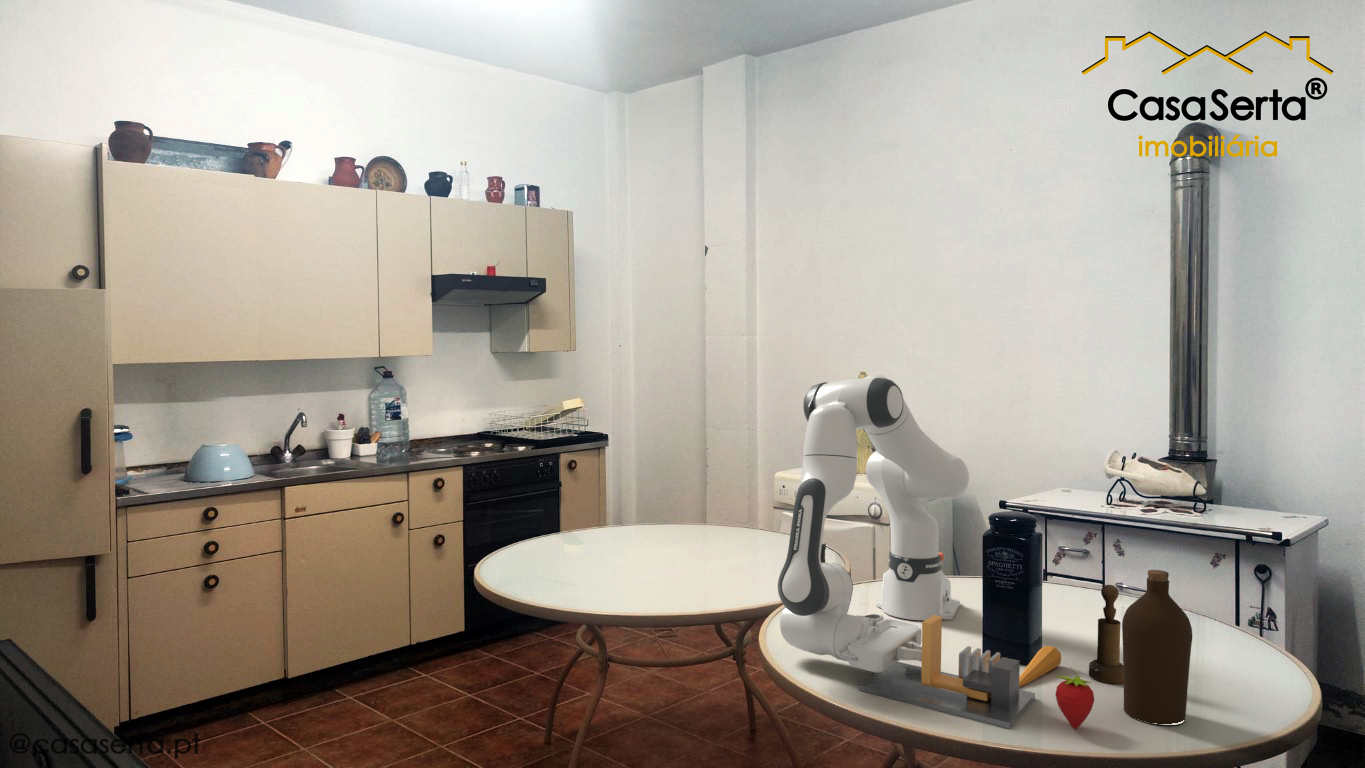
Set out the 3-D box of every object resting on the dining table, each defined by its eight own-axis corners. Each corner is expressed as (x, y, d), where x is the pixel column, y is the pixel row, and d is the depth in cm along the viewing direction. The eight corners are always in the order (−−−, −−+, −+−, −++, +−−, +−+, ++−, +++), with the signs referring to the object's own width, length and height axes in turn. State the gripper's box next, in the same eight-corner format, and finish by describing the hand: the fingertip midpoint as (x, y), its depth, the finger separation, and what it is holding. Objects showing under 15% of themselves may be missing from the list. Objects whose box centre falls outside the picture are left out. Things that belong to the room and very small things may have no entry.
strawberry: (1051, 732, 143) (1053, 672, 143) (1057, 716, 150) (1059, 658, 150) (1091, 740, 140) (1093, 679, 140) (1095, 723, 147) (1097, 664, 147)
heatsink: (893, 665, 173) (894, 625, 173) (1035, 698, 157) (1036, 654, 157) (858, 690, 161) (859, 647, 160) (1009, 728, 145) (1010, 681, 144)
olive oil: (1142, 728, 145) (1146, 580, 144) (1107, 703, 156) (1111, 564, 155) (1203, 727, 146) (1208, 579, 145) (1165, 702, 156) (1169, 564, 155)
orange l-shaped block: (932, 678, 163) (933, 614, 163) (995, 692, 157) (996, 626, 156) (921, 687, 159) (922, 622, 158) (985, 702, 152) (986, 634, 152)
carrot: (1047, 666, 176) (1038, 644, 177) (1068, 663, 173) (1059, 641, 174) (1005, 704, 162) (995, 680, 163) (1027, 701, 159) (1017, 677, 160)
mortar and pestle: (1128, 676, 169) (1130, 584, 168) (1125, 687, 163) (1128, 592, 163) (1090, 669, 172) (1092, 579, 172) (1087, 680, 167) (1089, 586, 166)
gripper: (833, 637, 161) (905, 653, 152) (879, 611, 177) (946, 624, 169) (833, 671, 161) (904, 689, 153) (878, 642, 177) (945, 656, 169)
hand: (927, 655), depth 161 cm, fingers closed, pressing on orange l-shaped block
